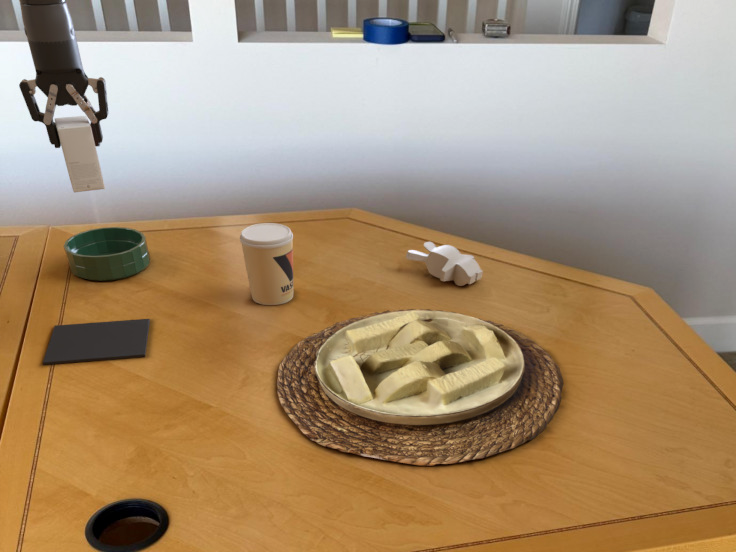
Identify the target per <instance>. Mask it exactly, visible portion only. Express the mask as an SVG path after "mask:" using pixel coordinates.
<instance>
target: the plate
mask: <svg viewBox="0 0 736 552" xmlns="http://www.w3.org/2000/svg"><path fill="white" fill-rule="evenodd" d="M276 381H277V382H276V388H277V390H276V392H277V396H278V400H279V403H280V406H281V407H282V408H283V410H284V412H285V413H286V415H287V416H288V417H289V418H290V420H291V421H292V422H293V423H294V424H295V425H296V427H297V428H298V429H299V430H300V432H302V434H303V435H304V436H306V437H307V438H308V439H309V440H310V441H313V442H316V443H317V444H318V445H320V446H322V447H326V448H329V449H333V450H338V451H339V452H341V453H350V454H354V455H356V456H362V457H367V458H372V459H373V458H374V459H378V460H383V461H389V462H396V463H401V464H402V463H403V464H408V465H415V466H425V467H426V466H427V467H428V466H429V467H430V466H435V465H440V464H441V465H448V464H450V465H451V464H458V463H462V462H467V461H471V460H480V459H484V458H488V457H490V456H494V455H496V454H500V453H502V452H505V451H508V450H512V449H514V448H517V447H518V446H521V445H523V444H525V443H526V442H528V441H532V440H534V439H535V438H537V436H539V435H540V434H541V433H542V432H543V431H544V430H545V429H547V427H548V425H549V423H550V422H551V421H552V420H553V419H554V416H555V414H556V413H557V412H558V411H559V408H560V406H561V402H562V392H563V390H564V379H563V374H562V372H561V368H560V366H559V365H558V363H556V362H555V361H554V359H553V358H552V355H550V353H549V352H548V351H547V350H545V349H544V348H543V347H541V346H540V345H538V344H537V343H536V342H535V341H533V340H531V339H530V338H529V337H528V336H526V335H525V334H523V333H521V332H519V331H517V330H515V329H513V328H511V327H509V326H505V325H504V324H502V323H497V322H495V321H492V320H490V319H489V320H484V319H482V318H477V317H474V316H470V315H467V314H464V313H459V312H455V311H447V310H442V309H430V308H419V309H416V308H409V309H395V310H388V309H387V310H384V311H381V312H372V313H370V314H368V315H367V314H364V315H363V314H362V315H360V316H358V317H351V318H349V319H346V320H342V321H338V322H335V323H333V324H332V325H331V326H328V327H326V328H324V329H322V330H320V331H319V332H315V333H313V334H311V335H309V336H306V337H305V338H304V339H301V340H299V342H298V343H296V344H295V345H294V346H293V347H292V348H291V349H290V351H289V352H288V353H287V355H286V356H284V357H283V359H282V360H281V361H280V363H279V366H278V370H277V380H276Z"/></svg>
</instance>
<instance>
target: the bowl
mask: <svg viewBox="0 0 736 552" xmlns="http://www.w3.org/2000/svg"><path fill="white" fill-rule="evenodd" d="M147 243H148V242H147V238H146V235H145V234H144V233H143V232H142V231H140V230H137V229H134V228H130V227H124V226H123V227H122V226H110V227H109V226H108V227H107V226H106V227H99V228H92V229H88V230H85V231H81V232H78V233H76V234H74V235H72V236H70V237H69V238H67V239H66V241H64V244H63V249H64V253H65V256H66V260H67V263H68V267H69V270H70V272H71V273H72V274H73V275H74V276H77V277H79V278H81V279H84V280H89V281H95V282H96V281H97V282H109V281H118V280H123V279H126V278H129V277H133V276H135V275H137V274H139V273H141V272H142V271H143V270H145V269H146V268H147V267H149V265H150V264H151V263H150V262H151V256H150V253H149V252H150V251H149V247H148V244H147Z"/></svg>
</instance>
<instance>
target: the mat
mask: <svg viewBox="0 0 736 552" xmlns="http://www.w3.org/2000/svg"><path fill="white" fill-rule="evenodd" d="M150 322H151V319H150V318H140V319H126V320H125V319H123V320H112V321H99V322H85V323H84V322H83V323H72V324H59V325H58V324H57V325H54V326H53V330H52V332H51V336H50V338H49V342H48V345H47V348H46V351H45V354H44V358H43V361H42V364H43V366H49V365H61V364H73V363H86V362H87V363H88V362H99V361H100V362H101V361H111V360H123V359H125V360H126V359H137V358H145V357H146V354H147V346H148V338H149V331H150V324H151V323H150Z"/></svg>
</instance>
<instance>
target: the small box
mask: <svg viewBox="0 0 736 552" xmlns="http://www.w3.org/2000/svg"><path fill="white" fill-rule="evenodd" d="M89 121H90V120H89V118H88V117H87V115H77V116H66V117H65V116H64V117H55V118H54V122H55V123H56V127H57V131H58V135H59V139H60V143H61V146H60V148H61V151H62V154H63V157H64V162H65V165H66V169H67V174H68V177H69V181H70V184H71V188H72V192H73V193H81V192H90V191H99V190H105V189H106V187H105V182H104V177H103V174H102V168H101V164H100V160H99V156H98V151H97V146H95V142H94V138H93V134H92V129H91V126H90V123H91V122H89Z"/></svg>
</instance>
